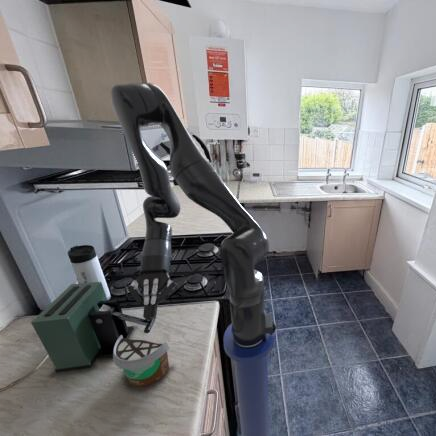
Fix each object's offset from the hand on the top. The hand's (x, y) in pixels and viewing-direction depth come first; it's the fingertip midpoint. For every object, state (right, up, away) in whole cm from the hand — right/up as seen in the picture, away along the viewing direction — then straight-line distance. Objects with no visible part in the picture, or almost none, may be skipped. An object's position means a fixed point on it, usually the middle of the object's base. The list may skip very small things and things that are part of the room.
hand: (149, 319), depth 63 cm
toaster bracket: (-10, -7, +1) cm, 12 cm away
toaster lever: (-6, 0, -1) cm, 6 cm away
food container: (+3, -11, -8) cm, 14 cm away
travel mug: (-27, 0, +16) cm, 31 cm away
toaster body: (-16, -7, 0) cm, 18 cm away
